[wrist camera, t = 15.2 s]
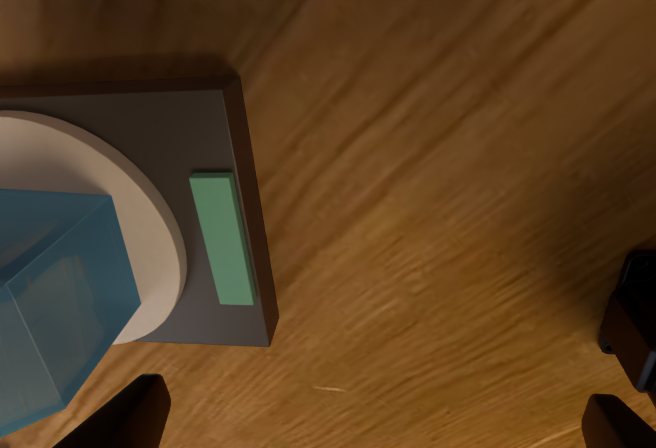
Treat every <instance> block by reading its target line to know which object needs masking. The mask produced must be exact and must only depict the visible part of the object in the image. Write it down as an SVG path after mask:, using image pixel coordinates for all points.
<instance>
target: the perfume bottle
mask: <svg viewBox="0 0 656 448" xmlns="http://www.w3.org/2000/svg"><path fill="white" fill-rule="evenodd" d="M140 305H141V300H140V297H139V293H138V289H137V286H136V282H135V279H134V275H133V271H132V268H131V264H130V261H129V257H128V253H127V250H126V246H125V243H124V239H123V235H122V232H121V228H120V225H119V221H118V217H117V214H116V210H115V207H114V203H113V199H112V196H111V195H98V194H82V193H66V192H49V191H33V190H17V189H1V188H0V438H1V437H3V436H6V435H8V434H10V433H12V432H15V431H17V430H19V429H21V428H24V427H26V426H28V425H30V424H32V423H35V422H37V421H39V420H41V419H44V418H46V417H48V416H50V415H52V414H55V413H57V412H59V411H61V410H64V409H65V408H66V407H67V405H68V404H69V403H70V401H71V400H72V399H73V397H74V396H75V395H76V393H77V392H78V390H79V389H80V388H81V386H82V385H83V384H84V382H85V381H86V379H87V378H88V377H89V375H90V374H91V373H92V371H93V370H94V368H95V367H96V366H97V364H98V363H99V362H100V360H101V359H102V357H103V356H104V355H105V353H106V352H107V351H108V349H109V348H110V346H111V345H112V344H113V342H114V341H115V340H116V338H117V337H118V335H119V334H120V333H121V331H122V330H123V329H124V327H125V326H126V324H127V323H128V322H129V320H130V319H131V318H132V316H133V315H134V313H135V312H136V311H137V309H138V308H139V307H140Z"/></svg>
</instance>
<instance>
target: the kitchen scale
mask: <svg viewBox="0 0 656 448" xmlns="http://www.w3.org/2000/svg"><path fill="white" fill-rule="evenodd" d="M0 188H1V189H17V190H33V191H49V192H66V193H82V194H98V195H111V196H112V199H113V203H114V207H115V210H116V214H117V217H118V221H119V225H120V228H121V232H122V235H123V239H124V243H125V246H126V250H127V253H128V257H129V261H130V264H131V268H132V271H133V275H134V279H135V282H136V286H137V289H138V293H139V297H140V300H141V305H140V307H139V308H138V309H137V311H136V312H135V313H134V315H133V316H132V318H131V319H130V320H129V322H128V323H127V324H126V326H125V327H124V329H123V330H122V331H121V333H120V334H119V335H118V337H117V338H116V340H115V341H114V342H113V344H112V345H114V344H121V343H125V342H130V341H143V342H166V343H189V344H211V345H234V346H256V347H270V345H271V342H272V338H273V335H274V332H275V329H276V326H277V322H278V319H279V314H278V308H277V302H276V296H275V290H274V283H273V277H272V271H271V265H270V259H269V253H268V247H267V240H266V234H265V228H264V222H263V216H262V210H261V204H260V197H259V191H258V185H257V179H256V173H255V167H254V161H253V154H252V148H251V142H250V136H249V130H248V124H247V118H246V111H245V105H244V99H243V93H242V87H241V81H240V77H239V76H227V77H205V78H182V79H160V80H137V81H114V82H92V83H69V84H46V85H24V86H1V87H0Z"/></svg>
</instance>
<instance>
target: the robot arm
mask: <svg viewBox="0 0 656 448" xmlns="http://www.w3.org/2000/svg"><path fill="white" fill-rule="evenodd" d="M639 259H642V260H641V261H640V262H638V263H635V262H636V261H637V260H639ZM600 328H601V330H602V331H601V334H600V337H599V340H598V345H599V347H600V349H601V350H602V352H604V353H606V354H615V355H616V357H617V359H618V360H619V362H620V364H621V366H622V367H623V369H624V371H625V373H626V374H627V376H628V378H629V380H630V381H631V383H632V385H633V387H634V388H635V389H636V390H637V391H638V392H640V393H647V394H648V396H649V397H650V399H651V401H652V402H653V404H654V406H655V407H656V250H636V251H633V252H631V253H629V254H628V255H627V257H626V258H625V261H624V264H623V267H622V270H621V273H620V277H619V280H618V283H617V286H616V289H614V291H613V292H612V293H611V296H610V299H609V302H608V305H607V308H606V311H605V314H604V317H603V320H602V324H601V327H600ZM609 344H610V345H609ZM170 407H171V398H170V395H169V392H168V389H167V387H166V384H165V381H164V379H163V377H162V376H161V375H160V374H149V373H146V374H142V375H140V376H139V377H137V378H136V379H135V380H134V381H133V382H131V383H130V384H129V385H128V386H126V387H125V388H124V389H123V390H122V391H120V392H119V393H118V394H117V395H116V396H114V397H113V398H112V399H111V400H109V401H108V402H107V403H106V404H105V405H103V406H102V407H101V408H100V409H98V410H97V411H96V412H95V413H94V414H92V415H91V416H90V417H89V418H88V419H86V420H85V421H84V422H83V423H81V424H80V425H79V426H78V427H77V428H75V429H74V430H73V431H72V432H70V433H69V434H68V435H67V436H66V437H64V438H63V439H62V440H61V441H60V442H58V443H57V444H56V445H55V446H53V447H52V448H159V445H160V441H161V438H162V434H163V431H164V428H165V424H166V421H167V418H168V414H169V411H170ZM582 432H583V436H584V440H585V444H586V447H587V448H656V431H654V430H653V429H652V428H651V427H650V426H649V425H648V424H647V423H646V422H645V421H643V420H642V419H641V418H640V417H639V416H638V415H637V414H636V413H635V412H634V411H632V410H631V409H630V408H629V407H628V406H627V405H626V404H625V403H624V402H623V401H621V400H620V399H619V398H618V397H616V396H614V395H611V394H592V395H591V396H590V398H589V400H588V403H587V406H586V409H585V412H584V415H583V418H582Z"/></svg>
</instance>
